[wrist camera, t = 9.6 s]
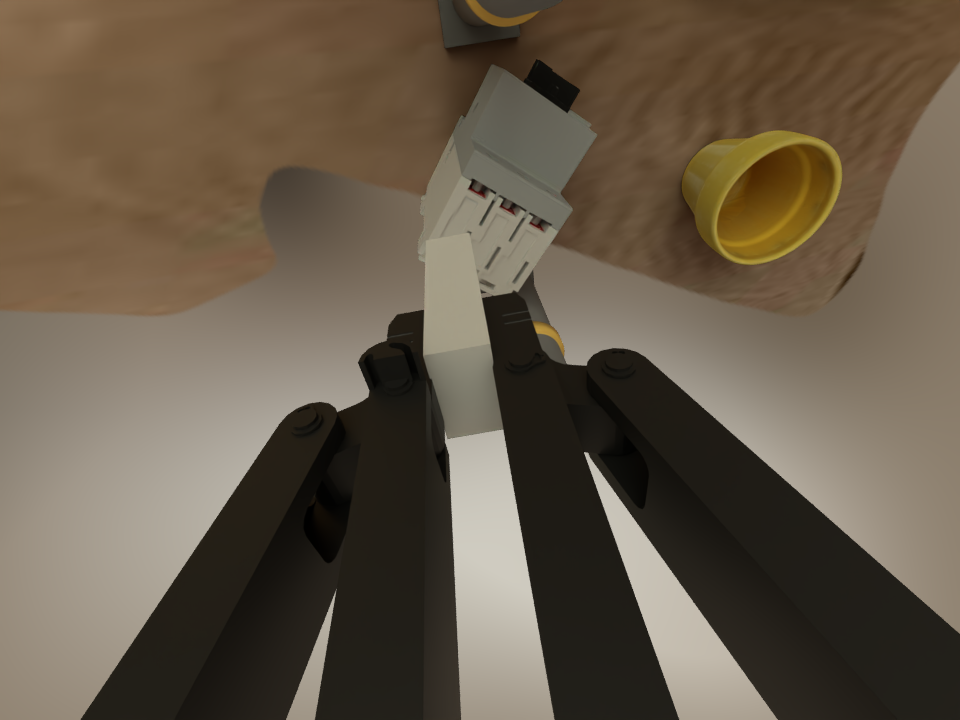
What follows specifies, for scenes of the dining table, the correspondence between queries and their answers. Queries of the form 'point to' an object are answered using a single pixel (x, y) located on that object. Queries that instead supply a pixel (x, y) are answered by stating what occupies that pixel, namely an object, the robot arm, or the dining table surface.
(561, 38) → the dining table surface
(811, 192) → the plant pot
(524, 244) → the circuit breaker
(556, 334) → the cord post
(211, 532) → the robot arm
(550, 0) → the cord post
